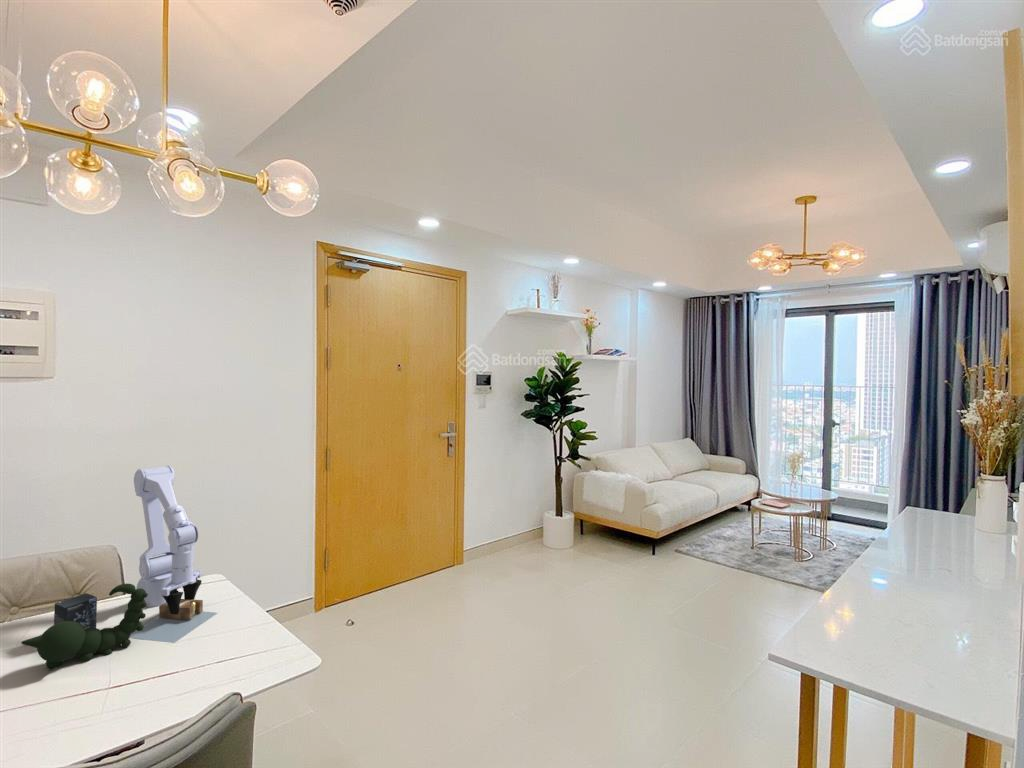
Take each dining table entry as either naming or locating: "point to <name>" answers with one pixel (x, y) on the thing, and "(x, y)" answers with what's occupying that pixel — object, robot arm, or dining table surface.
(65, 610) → the box
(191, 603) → the peg
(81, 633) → the toy figurine
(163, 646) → the dining table surface
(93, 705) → the dining table surface
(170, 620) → the board
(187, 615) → the wooden holder
